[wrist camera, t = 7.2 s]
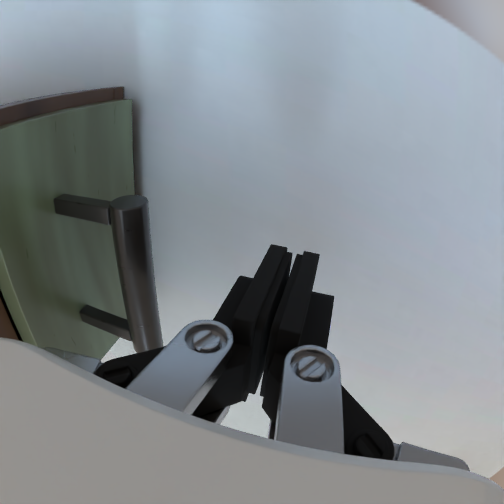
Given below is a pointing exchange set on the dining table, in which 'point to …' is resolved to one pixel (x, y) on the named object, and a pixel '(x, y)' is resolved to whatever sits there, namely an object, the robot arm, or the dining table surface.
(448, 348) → the dining table surface
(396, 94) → the dining table surface
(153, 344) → the drawer
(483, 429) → the dining table surface
